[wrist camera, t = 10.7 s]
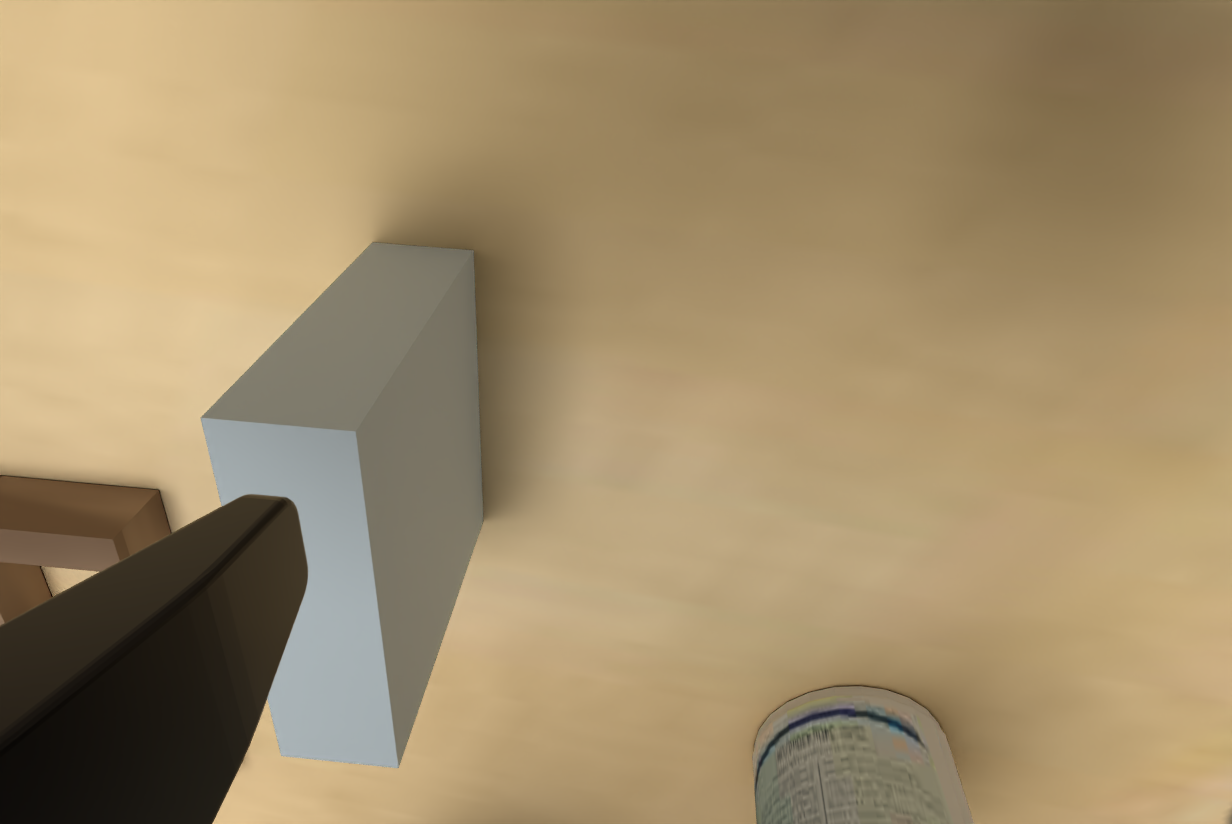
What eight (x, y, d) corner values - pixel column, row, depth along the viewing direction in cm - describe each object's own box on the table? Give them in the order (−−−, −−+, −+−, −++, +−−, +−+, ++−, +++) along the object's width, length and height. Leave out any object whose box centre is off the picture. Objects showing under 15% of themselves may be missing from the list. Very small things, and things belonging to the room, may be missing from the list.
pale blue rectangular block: (483, 520, 24) (398, 768, 17) (400, 512, 24) (281, 756, 17) (473, 249, 19) (355, 431, 13) (372, 241, 20) (200, 417, 13)
